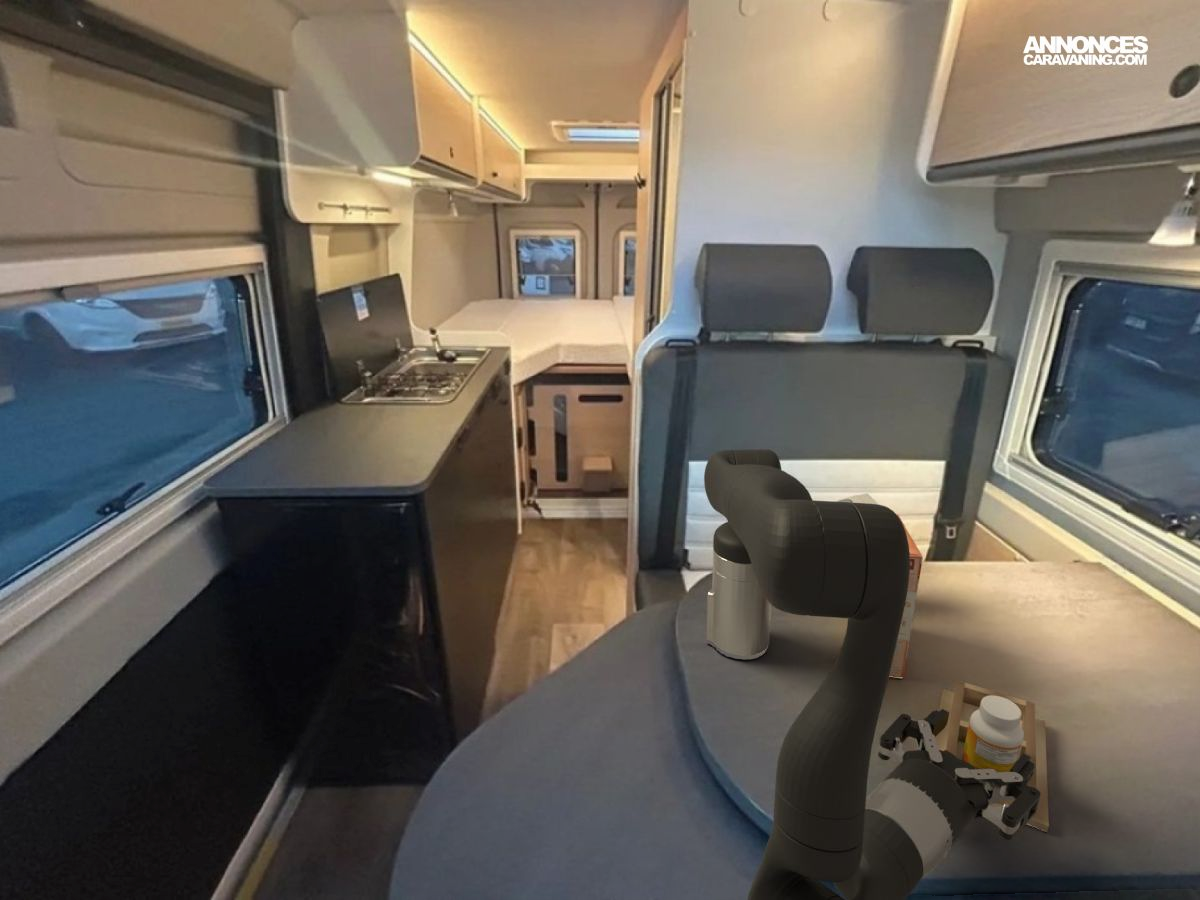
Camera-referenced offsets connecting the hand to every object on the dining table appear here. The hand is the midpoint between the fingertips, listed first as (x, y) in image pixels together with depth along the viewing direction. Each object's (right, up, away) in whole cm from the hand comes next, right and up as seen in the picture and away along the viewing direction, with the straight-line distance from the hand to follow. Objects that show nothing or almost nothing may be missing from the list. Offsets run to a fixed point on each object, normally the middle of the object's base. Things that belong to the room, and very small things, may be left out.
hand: (983, 737), depth 70 cm
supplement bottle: (+3, -6, +5) cm, 8 cm away
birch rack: (+5, -6, +8) cm, 11 cm away
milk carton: (0, +5, +41) cm, 41 cm away
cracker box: (0, +1, +28) cm, 28 cm away
